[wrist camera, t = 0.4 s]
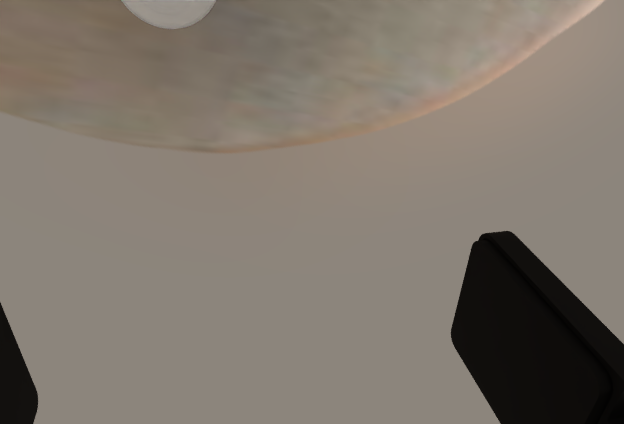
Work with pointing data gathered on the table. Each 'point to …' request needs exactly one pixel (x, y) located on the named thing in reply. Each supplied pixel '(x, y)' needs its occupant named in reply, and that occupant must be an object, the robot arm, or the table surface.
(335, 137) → the table surface
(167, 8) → the sprinkles bottle
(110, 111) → the table surface
